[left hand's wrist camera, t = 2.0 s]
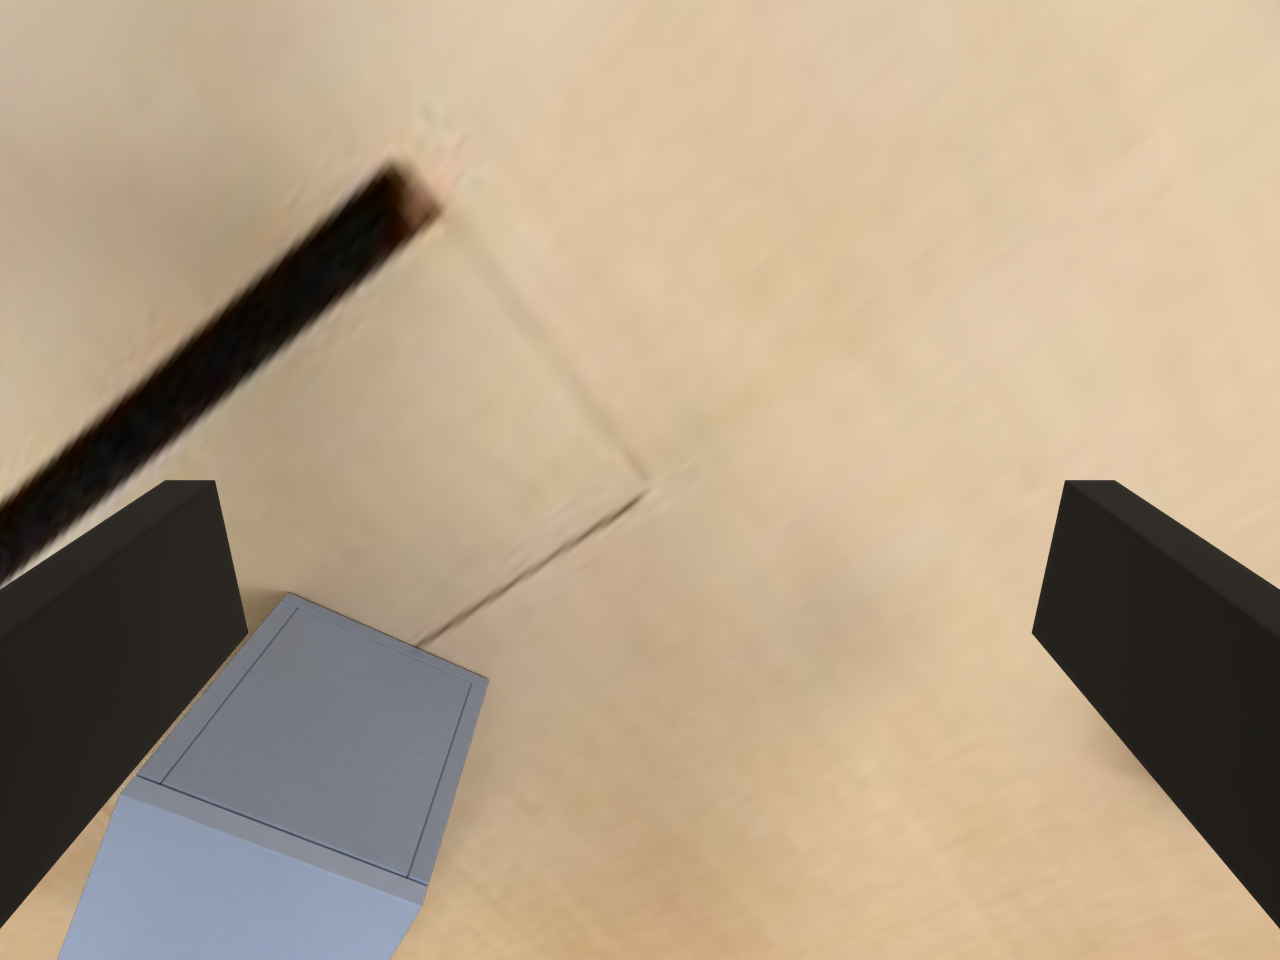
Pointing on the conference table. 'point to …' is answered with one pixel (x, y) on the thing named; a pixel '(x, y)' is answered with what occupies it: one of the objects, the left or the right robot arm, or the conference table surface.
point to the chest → (330, 738)
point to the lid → (229, 890)
